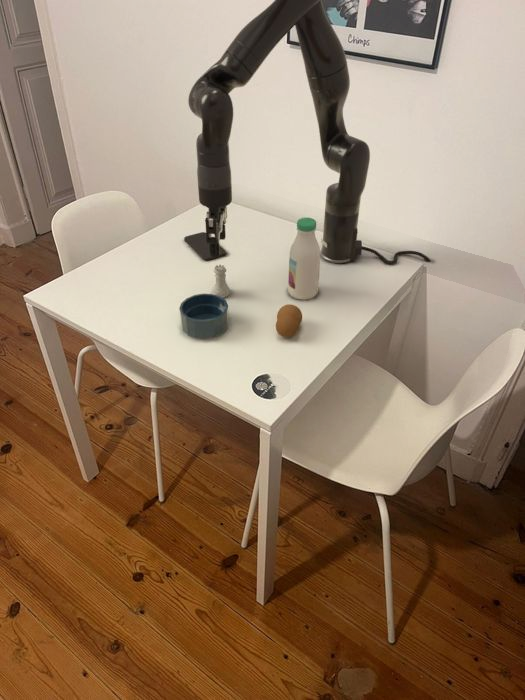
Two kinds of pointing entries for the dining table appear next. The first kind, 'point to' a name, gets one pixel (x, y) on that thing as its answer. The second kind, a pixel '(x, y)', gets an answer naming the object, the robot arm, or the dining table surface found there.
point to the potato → (288, 320)
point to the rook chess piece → (220, 282)
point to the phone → (202, 246)
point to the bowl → (204, 315)
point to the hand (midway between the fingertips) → (218, 246)
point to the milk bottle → (304, 261)
